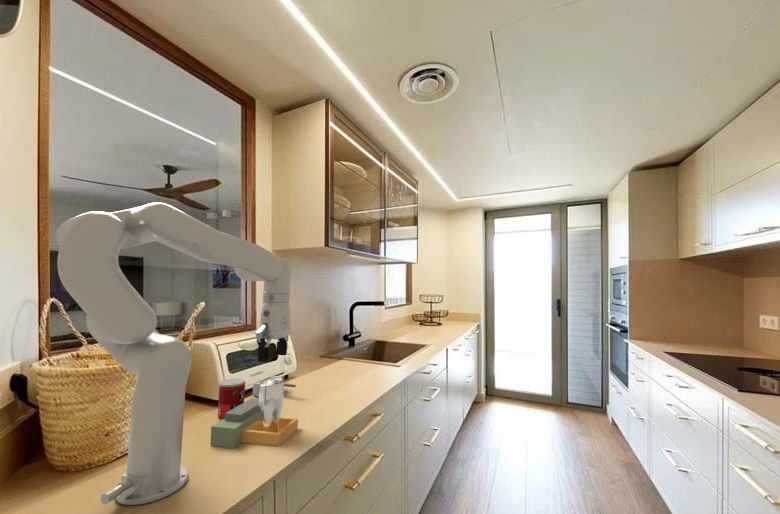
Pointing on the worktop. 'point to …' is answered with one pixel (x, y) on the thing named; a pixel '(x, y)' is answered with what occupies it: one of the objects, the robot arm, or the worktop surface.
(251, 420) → the stepped block with tray
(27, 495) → the worktop surface
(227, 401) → the canned food
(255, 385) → the saucepan
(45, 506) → the worktop surface
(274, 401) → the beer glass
